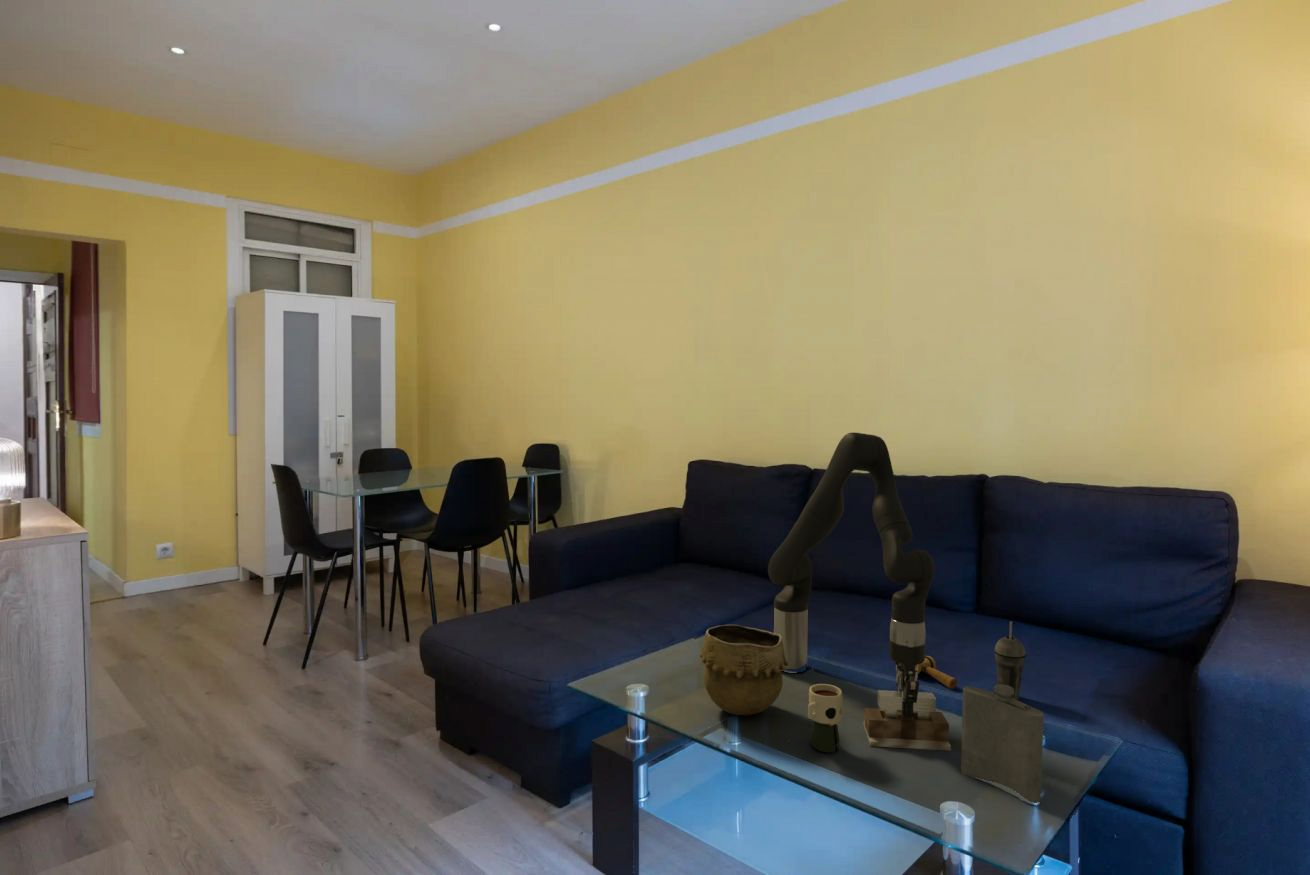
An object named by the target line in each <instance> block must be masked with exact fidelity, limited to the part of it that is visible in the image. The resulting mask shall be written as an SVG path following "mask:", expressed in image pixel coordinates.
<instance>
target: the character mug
mask: <svg viewBox="0 0 1310 875" xmlns="http://www.w3.org/2000/svg"><path fill="white" fill-rule="evenodd" d="M808 691H809V692H808V705H807V717H808V719H810V720H812V721H813V723H812V727H811V734H810V741H809V742H810V745H811V747H813V748H815V749H816V750H818V751H820V752H822V753H834V752H836V751H835V750H836V748H835V747H837V750H839V749H840V746H841V745H840V734H839V729H838V728H839V726H838V724H839V723H840V722H841V721H842V718H843V702H844V701H843V690H842V689H841V688H839V687H838V686H835V685H834V684H833V685H832V684H829V683H828V684H827V683H816V684H813V685H811V686H810V687H809V690H808Z"/></svg>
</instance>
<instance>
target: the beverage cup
mask: <svg viewBox="0 0 1310 875" xmlns="http://www.w3.org/2000/svg"><path fill="white" fill-rule="evenodd" d="M1012 634H1013V621H1010V620H1009V636H1003V637H1001V638H1000V639H999V640H998V641H997V642H996V644H995V647H994V650H993V652H994V657H995V663H996V677H997V678H996V681H997V684H1003V685H1008V686H1010V687H1012V688H1014V694H1013V699H1016V700H1018V701H1019V696H1020V693H1021V684H1022V675H1023V669H1024V668H1023V667H1024V664H1025V661H1026V660H1025V659H1026V657H1027V654H1026V649H1025V647H1024V645H1023V643H1022V641H1020V640H1019V639H1017V638H1016V637H1013V635H1012Z"/></svg>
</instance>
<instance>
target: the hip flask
mask: <svg viewBox="0 0 1310 875" xmlns="http://www.w3.org/2000/svg"><path fill="white" fill-rule="evenodd" d="M1013 694H1014V688H1012V687H1010V686H1008V685H1003V684H998V683H997V684H995V685H994V686H993V691H990V690H986V689H982V688H979V687H975V686H970V685H967V686H963V688H962V714H961V716H962V717H961V720H962V721H961V755H960V757H961V758H960V773H962V774H963V773H964V774H963V775H965V776H967V775H969V776H968V777H970V776H973V777H977V778H980V779H984V780H987V781H992V782H996V783H999V784H1002V785H1004V786H1007V787H1009V788H1011V789H1013V790H1014V791H1016V792H1017V793H1019V794H1020V795H1021V796H1023V797H1024V798H1025V799H1027V800H1028V801H1030V802H1034V803H1037V802H1040V801H1042V800H1041V799H1042V777H1043V776H1042V774H1043V773H1042V772H1043V771H1042V770H1043V746H1044V745H1043V744H1044V743H1043V742H1044V716H1045V714H1044V712H1043V711H1041V710H1039V709H1037V708H1035V707H1033V706H1030V705H1028V704H1026V703H1024V702H1022V701H1019V699H1018V700H1016V699H1013ZM973 777H972V778H973Z"/></svg>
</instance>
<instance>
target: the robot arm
mask: <svg viewBox="0 0 1310 875" xmlns="http://www.w3.org/2000/svg"><path fill="white" fill-rule="evenodd" d="M854 471H861V472H868V473H869V474H870V477H871V478H872V480H873V482H874V487H875V490H874V491H875V493H874V498H873V502H872V507H871V508H872V516H873V521H874V523H875V526H876V529H877V531H878V535H879V537H880V539H881V545H882V547H881V548H882V555H883V558H882V559H883V568H884V570H883V571H884V573H885V575H886V576H887V578H888V579H889V580H890V581H891V582H893V583H896V584H907V586H906V587H905V588H904V589H901V590H899V591H896V592H894V593H893V595H892V597H891V616H890V617H891V618H890V619H891V620H890V626H889V657H890V659H891V660H892V661H894V664H895V677H896V678H895V679H896V683H895V685H896V687H897V691H902V700H903V702H902V715H903V717H904V718H912V717H913V703H916V702H917V696H918V692H919V690H920V681H919V680H917V679H918V678H919V676H918V675H919V674H918V672H917V670H915V666H916V665H917V664H921V663H923V662H924V661H925V656H926V635H927V634H926V633H927V632H926V624H925V623H926V622H925V620H926V619H925V618H926V617H925V614H926V600H927V598H928V596H929V592H930V588H931V586H932V581H933V579H934V575H935V563H934V559H933V558H932V556H931V554H930V553H929V552H928V551H926V550H924V549H911V550H901V548H900V547H902V546H905V545H907V544H909V543H910V542H911V541H912V539H913V531H912V527H911V524H910V523H909V520H908V518H907V515H906V513H905V510H904V508H903V505H902V503H901V500H900V497H899V492H898V489H897V484H896V479H895V474H894V470H893V465H892V461H891V457H890V452H889V450H888V447H887V444H886V442H885V440H884V439H883V438H882V437H881V436H878V435H875V434H868V433H863V432H862V433H861V432H855V431H854V432H847V433H846V434H845V435H844V436H842V438H841V439H840V441H839V442H838V444H837V446H836V448H835V449H834V452H833V454H832V456H831V459H830V461H829V463H828V466H827V467H826V470H825V472H824V474H823V475H822V478H821V479H820V481H819V483H818V485H817V486H816V488H815V490H814V492H813V493H812V494H811V495H810V496H811V497H810V498H809V500H807V503H806V504H805V506H804V508H803V510H802V511H801V513H800V515H799V516H798V519H797V520H796V522H794V524H793V527H792V528H791V530H790V531H789V533H788V535H786V537H785V539H784V540H783V542H782V543H781V544H780V545H779V547H778V548H777V549H776V550H775V552H774V553H773V554H772V556H771V558H770V559H769V562H768V565H767V566H768V567H767V573H768V577H769V580H770V581H771V582H772V583H773V584H775V585H777V586H781V587H783V588H782V590H781V591H780V592H779V593H778V594H777V595H775V597H774V601H773V606H774V608H773V610H774V616H773V617H774V618H773V620H774V622H773V633H774V634H780V635H781V637H782V641H783V646H784V654H785V658H786V661H787V662H788V663H789V664H788V666H785V669H798V668H800V667H802V666H804V665H805V664H806V663H807V664H808V620H809V619H808V618H809V616H808V614H809V613H808V612H809V611H808V610H809V609H808V608H809V607H808V605H809V603H810V602H809V601H810V599H811V595H812V582H813V581H812V580H813V566H812V565H813V564H812V561H811V558H810V557H809V554H808V552H809V551H811V550H812V549H813V548H814V547H816V546H817V545H818V544H819V543H821V542H822V541H823V540H825V539H826V538H827V537H828V536H829V535H830V534H831V533H832V532H833V531H834V529H835V527H836V525H837V524H838V523H839V521H840V520H841V519H842V516H843V514H844V511H845V499H844V498H845V497H844V486H845V484H846V481H847V479H848V478H849V477H850V475H851V474H852V473H853V472H854ZM909 695H910V696H909Z"/></svg>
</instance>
